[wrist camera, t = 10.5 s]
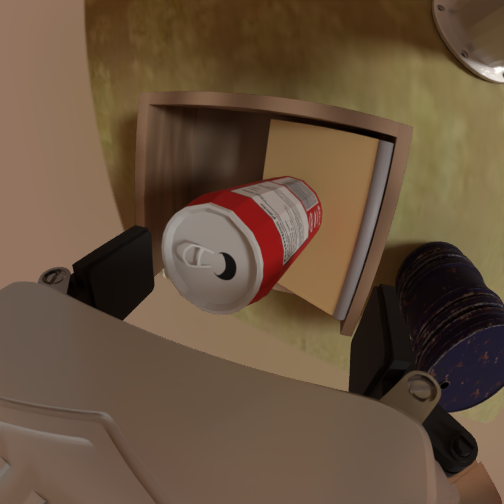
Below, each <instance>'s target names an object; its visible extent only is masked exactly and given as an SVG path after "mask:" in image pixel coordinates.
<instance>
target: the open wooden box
mask: <svg viewBox="0 0 504 504" xmlns="http://www.w3.org/2000/svg"><path fill="white" fill-rule="evenodd" d="M271 119H274V120H282V121H289V122H296V123H302V124H308V125H314V126H320V127H325V128H330V129H335V130H340V131H345V132H349V133H354V134H358V135H363V136H367V137H371V138H375V139H379V140H383V141H386V142H390V143H393V144H394V149H393V154H392V159H391V164H390V169H389V173H388V178H387V182H386V187H385V191H384V195H383V199H382V203H381V207H380V211H379V215H378V219H377V222H376V226H375V230H374V233H373V237H372V240H371V243H370V247H369V250H368V253H367V257H366V260H365V263H364V266H363V269H362V272H361V275H360V278H359V281H358V284H357V287H356V290H355V293H354V296H353V299H352V301H351V304H350V307H349V310H348V312H347V315H346V318H345V319H344V320H340V334H341V335H346V336H352V334H353V331H354V329H355V327H356V324H357V322H358V319H359V317H360V314H361V312H362V309H363V307H364V304H365V302H366V299H367V297H368V294H369V291H370V288H371V286H372V283H373V280H374V277H375V275H376V272H377V269H378V266H379V263H380V260H381V257H382V254H383V251H384V247H385V244H386V241H387V238H388V234H389V231H390V228H391V224H392V221H393V217H394V213H395V210H396V206H397V202H398V198H399V194H400V190H401V186H402V182H403V177H404V173H405V168H406V164H407V159H408V154H409V149H410V143H411V138H412V132H413V127H412V126H408V125H405V124H402V123H399V122H395V121H392V120H389V119H385V118H381V117H378V116H374V115H370V114H366V113H362V112H358V111H354V110H349V109H345V108H340V107H335V106H330V105H325V104H320V103H314V102H308V101H302V100H296V99H289V98H281V97H273V96H264V95H254V94H242V93H226V92H198V91H175V92H147V93H140V96H139V106H138V118H137V133H136V153H135V225H137V226H141V227H146V228H148V230H149V232H150V233H151V235H152V255H153V271H154V277H155V276H156V275H157V274H158V273H159V272H160V271H161V270H162V269H163V268H165V266H164V263H163V258H162V247H161V246H162V239H163V233H164V231H165V228H166V226H167V224H168V222H169V221H170V220H171V218H172V217H173V216H174V215H175V214H176V213H177V212H179V211H180V210H182V209H183V208H185V207H186V206H187V205H188V204H189V203H190V202H192V201H193V200H195V199H197V198H198V197H200V196H201V195H203V194H206V193H210V192H214V191H218V190H222V189H226V188H231V187H235V186H239V185H243V184H248V183H252V182H256V181H261V180H263V173H264V166H265V159H266V151H267V144H268V137H269V129H270V122H271ZM272 289H274V290H278V291H282V292H286V293H291V294H295V293H293V292H292V291H290V290H289V289H287V288H285V287H284V286H282V285H280V284H279V283H276V284H275V286H274V287H273V288H272ZM295 295H297V294H295Z"/></svg>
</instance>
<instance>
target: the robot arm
mask: <svg viewBox="0 0 504 504" xmlns="http://www.w3.org/2000/svg"><path fill="white" fill-rule="evenodd" d="M432 14H433V19H434V22H435V25H436V28H437V30H438V32H439V34H440V36H441V38H442V40H443V41H444V43H445V44H446V46H447V47H448V49H449V50H450V51H451V52H452V53H453V55H454V56H455V57H456V58H457V59H458V60H459V61H460V62H461V63H462V64H463V65H464V66H465V67H466V68H467V69H469V70H470V71H471V72H472V73H474V74H475V75H477V76H479V77H480V78H482V79H484V80H487V81H489V82H492V83H497V84H504V0H432ZM462 55H463V56H462ZM72 266H73V271H74V273H73V274H71V273H70V271H69V270H68V269H67V268H64V267H56V268H52V269H49V270H47V271H45V272H44V273H43V274H42V275H41V276H40V278H39V280H38V283H35V282H14V283H12V284H10V285H8V286H6V287H4V288H3V289H1V290H0V504H502V500H501V497H500V495H499V493H498V491H497V489H496V487H495V485H494V483H493V482H492V480H491V478H490V476H489V474H488V472H487V471H486V469H485V467H484V466H483V464H482V462H480V463H477V461H476V460H475V459H476V457H477V453H478V447H477V443H476V440H475V438H474V437H473V436H472V435H471V434H470V433H469V432H468V431H467V430H466V429H465V428H464V427H463V426H462V425H461V424H460V423H459V422H457V421H456V420H455V419H454V418H453V417H452V416H451V415H450V414H449V413H448V412H447V411H446V410H444V409H443V408H442V407H441V406H440V405H439V404H438V401H439V399H440V397H441V389H440V386H439V384H438V382H437V381H436V380H435V379H434V378H433V377H432V376H431V375H429V374H427V373H425V372H422V371H417V369H416V364H415V358H414V353H413V348H412V343H411V339H410V334H409V330H408V326H407V324H405V323H403V319H402V314H401V310H400V306H399V302H398V298H397V294H396V290H395V287H393V286H388V285H384V284H380V285H379V287H376V286H375V287H374V288H373V291H372V293H371V296H370V299H369V301H368V304H367V306H366V308H365V311H364V313H363V316H362V318H361V321H360V323H359V325H358V328H357V330H356V332H355V334H354V337H353V339H352V342H351V353H350V376H349V392H347V391H342V390H338V389H334V388H330V387H325V386H321V385H317V384H313V383H309V382H304V381H300V380H296V379H292V378H288V377H284V376H280V375H276V374H273V373H269V372H265V371H262V370H258V369H255V368H252V367H248V366H245V365H241V364H238V363H235V362H232V361H228V360H225V359H222V358H219V357H216V356H213V355H210V354H207V353H204V352H201V351H199V350H196V349H193V348H190V347H187V346H185V345H182V344H179V343H176V342H174V341H171V340H169V339H166V338H163V337H161V336H158V335H156V334H153V333H151V332H148V331H146V330H143V329H141V328H139V327H136V326H134V325H131V324H129V323H127V322H124V321H123V320H124V319H125V318H126V317H127V316H128V315H129V314H130V313H131V312H132V311H133V310H134V309H135V308H136V307H137V306H138V305H139V304H140V303H141V302H142V301H143V300H144V299H145V298H146V297H147V296H148V295H149V294H150V293H151V292H152V290H153V288H154V271H153V255H152V235H151V233H150V232H149V230H148V228H146V227H141V226H137V225H135V226H133V227H131V228H130V229H128V230H126V231H125V232H123V233H121V234H120V235H119V236H116V237H115V238H113V239H112V240H110V241H108V242H107V243H105V244H104V245H102V246H100V247H99V248H97V249H96V250H94V251H93V252H91V253H90V254H88V255H86V256H85V257H83V258H82V259H81V260H79V261H77V262H76V263H74V264H73V265H72Z"/></svg>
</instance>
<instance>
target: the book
mask: <svg viewBox="0 0 504 504" xmlns="http://www.w3.org/2000/svg"><path fill="white" fill-rule="evenodd" d="M393 149H394V144H393V143H390V142H386V141H383V140H379V139H375V138H371V137H367V136H363V135H358V134H354V133H349V132H345V131H340V130H335V129H330V128H325V127H320V126H314V125H308V124H302V123H296V122H289V121H282V120H274V119H271V122H270V129H269V137H268V144H267V151H266V159H265V166H264V173H263V180H266V179H270V178H275V177H282V176H291V177H294V178H297V179H301V180H304V181H305V182H306V183H307V184H308V185H309V186H310V187H311V188H312V189H313V190H314V191H315V192H316V194H317V196H318V198H319V200H320V202H321V206H322V211H323V213H322V223H321V226H320V228H319V230H318V232H317V233H316V235H315V236H314V237H313V239H312V240H311V241H310V242H309V244H308V245H307V246H306V247H305V249H304V250H303V251H302V252H301V254H300V255H299V256H298V257H297V259H296V260H295V261H294V262H293V264H292V265H291V266H290V267H289V269H288V270H287V271H286V272H285V274H284V275H283V276H282V277H281V278H280V280H279V281H278V282H277V283H279V284H280V285H282V286H284V287H285V288H287V289H289V290H290V291H292V292H293V293H295V294H297V295H298V296H300V297H302V298H303V299H305V300H307V301H308V302H310V303H312V304H313V305H315V306H317V307H318V308H320V309H322V310H323V311H325V312H326V313H328V314H330V315H331V316H333V317H334V318H335V319H337V320H344V319H345V318H346V315H347V312H348V310H349V307H350V304H351V301H352V299H353V296H354V293H355V290H356V287H357V284H358V281H359V278H360V275H361V272H362V269H363V266H364V263H365V260H366V257H367V253H368V250H369V247H370V243H371V240H372V237H373V233H374V230H375V226H376V222H377V219H378V215H379V211H380V207H381V203H382V199H383V195H384V191H385V187H386V182H387V178H388V173H389V169H390V164H391V159H392V154H393Z"/></svg>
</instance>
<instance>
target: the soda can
mask: <svg viewBox="0 0 504 504" xmlns="http://www.w3.org/2000/svg"><path fill="white" fill-rule="evenodd" d="M322 213H323V211H322V206H321V202H320V200H319V198H318V196H317V194H316V192H315V191H314V190H313V189H312V188H311V187H310V186H309V185H308V184H307V183H306V182H305V181H304V180H301V179H297V178H294V177H291V176H282V177H275V178H270V179H266V180H261V181H256V182H252V183H248V184H243V185H239V186H235V187H231V188H226V189H222V190H218V191H214V192H210V193H206V194H203V195H201V196H200V197H198V198H197V199H195V200H193V201H192V202H190V203H189V204H188V205H187V206H186V207H185V208H183V209H182V210H180V211H179V212H177V213H176V214H175V215H174V216H173V217H172V218H171V220H170V221H169V222H168V224H167V226H166V228H165V231H164V233H163V239H162V246H161V247H162V258H163V263H164V266H165V269H166V273H167V275H168V276H169V278H170V279H171V281H172V283H173V284H174V286H175V287H176V289H177V290H178V292H179V293H180V295H181V296H182V297H184V298H185V299H187V300H188V301H190V302H191V303H192V304H194V305H195V306H197V307H198V308H200V309H201V310H203V311H206V312H209V313H213V314H230V313H234V312H237V311H239V310H241V309H242V308H244V307H245V306H247V305H250V304H252V303H254V302H257V301H258V300H260V299H261V298H263V297H264V296H266V295H267V294H268V293H269V292H270V291H271V289H272V288H273V287H274V286H275V284H276V283H277V282H278V281H279V280H280V278H281V277H282V276H283V275H284V274H285V272H286V271H287V270H288V269H289V267H290V266H291V265H292V264H293V262H294V261H295V260H296V259H297V257H298V256H299V255H300V254H301V252H302V251H303V250H304V249H305V247H306V246H307V245H308V244H309V242H310V241H311V240H312V239H313V237H314V236H315V235H316V233H317V232H318V230H319V228H320V226H321V223H322Z"/></svg>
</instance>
